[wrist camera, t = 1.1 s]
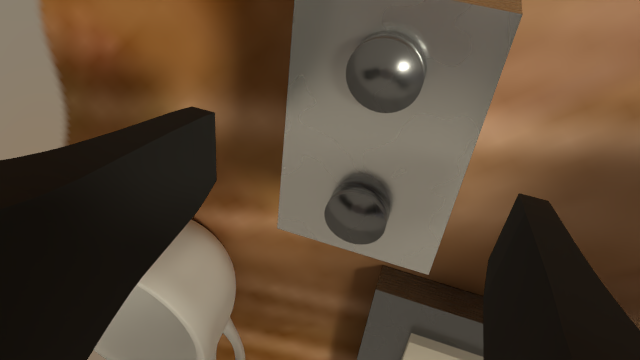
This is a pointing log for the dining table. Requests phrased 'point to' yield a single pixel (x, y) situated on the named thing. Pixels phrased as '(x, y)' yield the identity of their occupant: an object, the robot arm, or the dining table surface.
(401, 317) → the stand
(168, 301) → the teacup
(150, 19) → the dining table surface
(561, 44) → the dining table surface
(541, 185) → the dining table surface
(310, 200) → the block
